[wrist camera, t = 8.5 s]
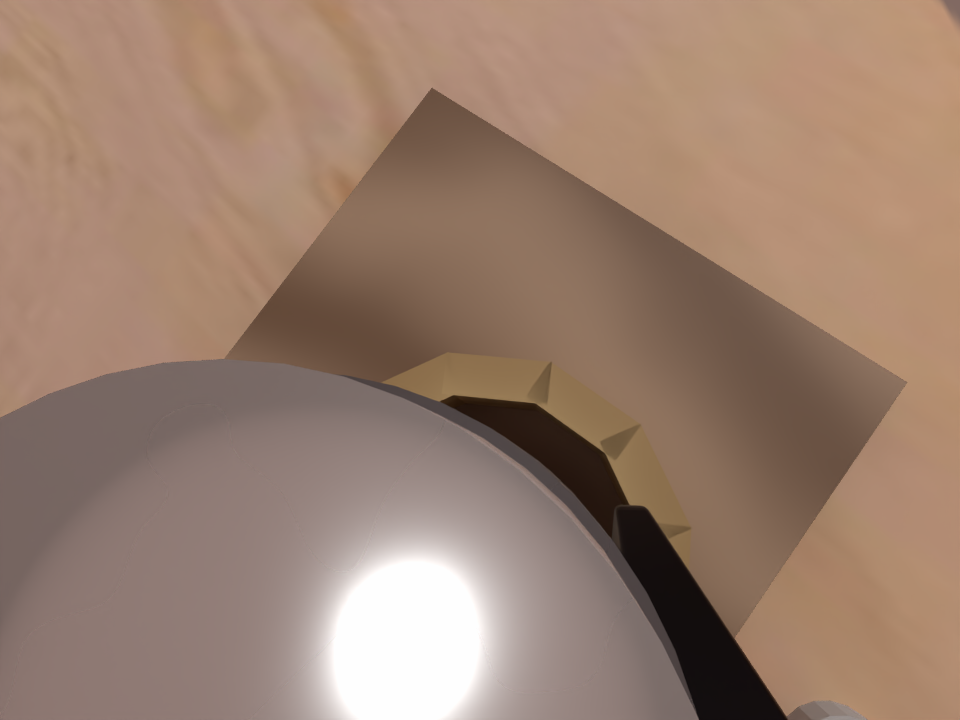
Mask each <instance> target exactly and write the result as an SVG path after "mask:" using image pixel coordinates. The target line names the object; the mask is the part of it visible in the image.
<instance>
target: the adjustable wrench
mask: <svg viewBox="0 0 960 720" xmlns="http://www.w3.org/2000/svg"><path fill="white" fill-rule="evenodd" d="M787 718H788V720H867V719H866V718H865V717H863V716H862V715H861V714H859V713H857V712H856V711H854V710H853V709H851V708H850V707H848V706H846V705H843V704H839V703H836V702H833V701H813V702H810V703H807V704H805V705H802V706H799V707H798V708H796V709H795V710H794V711H793V712H792V713H791V714H789V715H788V716H787Z"/></svg>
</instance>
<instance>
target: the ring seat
mask: <svg viewBox="0 0 960 720" xmlns="http://www.w3.org/2000/svg"><path fill="white" fill-rule="evenodd" d="M225 359H229V360H242V361H256V362H269V363H283V364H288V365H293V366H297V367H302V368H307V369H311V370H316V371H320V372H325V373H330V374H336V375H347V376H352V377H356V378H361V379H366V380H370V381H375V382H380V383H384V384H389V385H394V386H397V387H400V388H402V389H405V390H408V391H411V392H413V393H416V394H419V395H422V396H425V397H427V398H430V399H433V400H436V401H438V402H441V403H444V404H446V405H447V406H449V407H451V408H453V409H455V410H457V411H459V412H461V413H463V414H465V415H467V416H469V417H470V418H472V419H474V420H476V421H478V422H480V423H482V424H484V425H486V426H488V427H490V428H491V429H493V430H494V431H496V432H497V433H499V434H501V435H502V436H504V437H505V438H507V439H508V440H510V441H511V442H512V443H514V444H515V445H517V446H518V447H520V448H521V449H522V450H524V451H525V452H527V453H528V454H530V455H531V456H532V457H534V458H535V459H537V460H538V461H539V462H540V463H542V464H543V465H544V466H545V467H546V468H548V469H549V470H550V471H551V472H552V473H553V474H554V475H555V476H557V477H558V478H559V479H560V481H561V482H562V483H563V484H564V485H566V486H567V487H568V488H569V489H570V490H571V491H572V492H573V493H574V494H575V496H576V497H577V498H578V499H579V500H580V502H581V503H582V504H583V505H584V506H585V507H586V509H587V510H588V511H589V512H590V513H591V515H592V516H593V517H594V518H595V519H596V521H597V522H598V523H599V524H600V525H601V526H602V528H603V529H604V530H605V532H606V533H607V534H608V535H609V537H610V538H611V539H612V529H613V518H614V510H615V507H616V506H618V505H641V506H644V507H646V508H647V509H648V510H649V511H650V513H651V514H652V516H653V517H654V519H655V520H656V522H657V523H658V525H659V526H660V528H661V529H662V531H663V532H664V534H665V535H666V537H667V538H668V540H669V541H670V543H671V544H672V546H673V547H674V549H675V550H676V552H677V553H678V555H679V556H680V558H681V559H682V561H683V562H684V564H685V565H686V567H687V568H688V570H689V571H690V573H691V574H692V576H693V577H694V579H695V580H696V582H697V583H698V585H699V586H700V588H701V589H702V591H703V592H704V594H705V595H706V597H707V598H708V600H709V601H710V603H711V604H712V606H713V607H714V609H715V610H716V612H717V613H718V615H719V616H720V618H721V619H722V621H723V622H724V624H725V625H726V627H727V628H728V630H729V631H730V633H731V634H732V636H733V637H734V638H735V636H736V635H737V633H738V632H739V630H740V629H741V627H742V626H743V625H744V623H745V622H746V620H747V619H748V617H749V616H750V614H751V613H752V611H753V610H754V608H755V607H756V605H757V604H758V602H759V601H760V599H761V598H762V596H763V595H764V593H765V592H766V591H767V589H768V588H769V586H770V585H771V583H772V582H773V580H774V579H775V577H776V576H777V574H778V573H779V571H780V570H781V568H782V567H783V565H784V564H785V562H786V561H787V559H788V558H789V557H790V555H791V554H792V552H793V551H794V549H795V548H796V546H797V545H798V543H799V542H800V540H801V539H802V537H803V536H804V534H805V533H806V531H807V530H808V528H809V527H810V525H811V524H812V523H813V521H814V520H815V518H816V517H817V515H818V514H819V512H820V511H821V509H822V508H823V506H824V505H825V503H826V502H827V500H828V499H829V497H830V496H831V494H832V493H833V491H834V490H835V489H836V487H837V486H838V484H839V483H840V481H841V480H842V478H843V477H844V475H845V474H846V472H847V471H848V469H849V468H850V466H851V465H852V463H853V462H854V460H855V459H856V457H857V456H858V455H859V453H860V452H861V450H862V449H863V447H864V446H865V444H866V443H867V441H868V440H869V438H870V437H871V435H872V434H873V432H874V431H875V429H876V428H877V426H878V425H879V423H880V422H881V421H882V419H883V418H884V416H885V415H886V413H887V412H888V410H889V409H890V407H891V406H892V404H893V403H894V401H895V400H896V398H897V397H898V395H899V394H900V392H901V391H902V389H903V388H904V387H905V385H906V384H907V382H906V381H904V380H903V379H901V378H899V377H898V376H896V375H895V374H893V373H891V372H890V371H888V370H887V369H885V368H883V367H882V366H880V365H878V364H877V363H875V362H874V361H872V360H870V359H869V358H867V357H866V356H864V355H862V354H861V353H859V352H858V351H856V350H854V349H853V348H851V347H849V346H848V345H846V344H845V343H843V342H841V341H840V340H838V339H837V338H835V337H833V336H832V335H830V334H828V333H827V332H825V331H824V330H822V329H820V328H819V327H817V326H816V325H814V324H812V323H811V322H809V321H807V320H806V319H804V318H803V317H801V316H799V315H798V314H796V313H795V312H793V311H791V310H790V309H788V308H786V307H785V306H783V305H782V304H780V303H778V302H777V301H775V300H774V299H772V298H770V297H769V296H767V295H765V294H764V293H762V292H761V291H759V290H757V289H756V288H754V287H753V286H751V285H749V284H748V283H746V282H744V281H743V280H741V279H740V278H738V277H736V276H735V275H733V274H732V273H730V272H728V271H727V270H725V269H723V268H722V267H720V266H719V265H717V264H715V263H714V262H712V261H711V260H709V259H707V258H706V257H704V256H702V255H701V254H699V253H698V252H696V251H694V250H693V249H691V248H690V247H688V246H686V245H685V244H683V243H681V242H680V241H678V240H677V239H675V238H673V237H672V236H670V235H669V234H667V233H665V232H664V231H662V230H660V229H659V228H657V227H656V226H654V225H652V224H651V223H649V222H648V221H646V220H644V219H643V218H641V217H640V216H638V215H636V214H635V213H633V212H631V211H630V210H628V209H627V208H625V207H623V206H622V205H620V204H619V203H617V202H615V201H614V200H612V199H610V198H609V197H607V196H606V195H604V194H602V193H601V192H599V191H598V190H596V189H594V188H593V187H591V186H589V185H588V184H586V183H585V182H583V181H581V180H580V179H578V178H577V177H575V176H573V175H572V174H570V173H568V172H567V171H565V170H564V169H562V168H560V167H559V166H557V165H556V164H554V163H552V162H551V161H549V160H547V159H546V158H544V157H543V156H541V155H539V154H538V153H536V152H535V151H533V150H531V149H530V148H528V147H526V146H525V145H523V144H522V143H520V142H518V141H517V140H515V139H514V138H512V137H510V136H509V135H507V134H505V133H504V132H502V131H501V130H499V129H497V128H496V127H494V126H493V125H491V124H489V123H488V122H486V121H484V120H483V119H481V118H480V117H478V116H476V115H475V114H473V113H472V112H470V111H468V110H467V109H465V108H463V107H462V106H460V105H459V104H457V103H455V102H454V101H452V100H451V99H449V98H447V97H446V96H444V95H442V94H441V93H439V92H438V91H436V90H434V89H433V88H431V90H430V91H429V92H428V94H427V95H426V96H425V97H424V99H423V100H422V101H421V103H420V104H419V105H418V107H417V108H416V109H415V110H414V112H413V113H412V114H411V116H410V117H409V118H408V120H407V121H406V122H405V124H404V125H403V126H402V127H401V129H400V130H399V131H398V133H397V134H396V135H395V137H394V138H393V139H392V141H391V142H390V143H389V144H388V146H387V147H386V148H385V150H384V151H383V152H382V154H381V155H380V156H379V157H378V159H377V160H376V161H375V163H374V164H373V165H372V167H371V168H370V169H369V171H368V172H367V173H366V174H365V176H364V177H363V178H362V180H361V181H360V182H359V184H358V185H357V186H356V188H355V189H354V190H353V191H352V193H351V194H350V195H349V197H348V198H347V199H346V201H345V202H344V203H343V205H342V206H341V207H340V208H339V210H338V211H337V212H336V214H335V215H334V216H333V218H332V219H331V220H330V221H329V223H328V224H327V225H326V227H325V228H324V229H323V231H322V232H321V233H320V235H319V236H318V237H317V238H316V240H315V241H314V242H313V244H312V245H311V246H310V248H309V249H308V250H307V252H306V253H305V254H304V255H303V257H302V258H301V259H300V261H299V262H298V263H297V265H296V266H295V267H294V268H293V270H292V271H291V272H290V274H289V275H288V276H287V278H286V279H285V280H284V282H283V283H282V284H281V285H280V287H279V288H278V289H277V291H276V292H275V293H274V295H273V296H272V297H271V299H270V300H269V301H268V302H267V304H266V305H265V306H264V308H263V309H262V310H261V312H260V313H259V314H258V315H257V317H256V318H255V319H254V321H253V322H252V323H251V325H250V326H249V327H248V329H247V330H246V331H245V332H244V334H243V335H242V336H241V338H240V339H239V340H238V342H237V343H236V344H235V346H234V347H233V348H232V349H231V351H230V352H229V353H228V355H227V356H226V357H225Z"/></svg>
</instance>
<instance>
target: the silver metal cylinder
mask: <svg viewBox="0 0 960 720" xmlns="http://www.w3.org/2000/svg"><path fill="white" fill-rule="evenodd" d="M0 720H699V719H698V716H697V712H696V709H695V706H694V703H693V700H692V698H691V695H690V692H689V689H688V686H687V683H686V680H685V677H684V675H683V672H682V669H681V666H680V663H679V660H678V657H677V654H676V651H675V649H674V647H673V645H672V643H671V641H670V639H669V637H668V635H667V633H666V631H665V629H664V627H663V625H662V623H661V620H660V618H659V616H658V614H657V612H656V610H655V608H654V606H653V604H652V602H651V600H650V598H649V596H648V594H647V592H646V591H645V589H644V588H643V586H642V585H641V583H640V581H639V580H638V578H637V577H636V575H635V574H634V572H633V571H632V569H631V568H630V566H629V565H628V563H627V561H626V560H625V558H624V557H623V555H622V554H621V552H620V551H619V549H618V548H617V546H616V545H615V543H614V542H613V540H612V539H611V538H610V537H609V535H608V534H607V533H606V532H605V530H604V529H603V528H602V526H601V525H600V524H599V523H598V522H597V521H596V519H595V518H594V517H593V516H592V515H591V513H590V512H589V511H588V510H587V509H586V507H585V506H584V505H583V504H582V503H581V502H580V500H579V499H578V498H577V497H576V496H575V494H574V493H573V492H572V491H571V490H570V489H569V488H568V487H567V486H566V485H564V484H563V483H562V482H561V481H560V479H559V478H558V477H557V476H555V475H554V474H553V473H552V472H551V471H550V470H549V469H548V468H546V467H545V466H544V465H543V464H542V463H540V462H539V461H538V460H537V459H535V458H534V457H532V456H531V455H530V454H528V453H527V452H525V451H524V450H522V449H521V448H520V447H518V446H517V445H515V444H514V443H512V442H511V441H510V440H508V439H507V438H505V437H504V436H502V435H501V434H499V433H497V432H496V431H494V430H493V429H491V428H490V427H488V426H486V425H484V424H482V423H480V422H478V421H476V420H474V419H472V418H470V417H469V416H467V415H465V414H463V413H461V412H459V411H457V410H455V409H453V408H451V407H449V406H447V405H446V404H444V403H441V402H438V401H436V400H433V399H430V398H427V397H425V396H422V395H419V394H416V393H413V392H411V391H408V390H405V389H402V388H400V387H397V386H394V385H389V384H384V383H380V382H375V381H370V380H366V379H361V378H356V377H352V376H347V375H336V374H330V373H325V372H320V371H316V370H311V369H307V368H302V367H297V366H293V365H288V364H283V363H269V362H256V361H242V360H229V359H217V360H202V361H186V362H170V363H161V364H156V365H151V366H146V367H141V368H136V369H131V370H126V371H121V372H116V373H111V374H106V375H103V376H100V377H97V378H94V379H91V380H88V381H85V382H82V383H79V384H77V385H74V386H71V387H68V388H65V389H62V390H59V391H56V392H53V393H50V394H48V395H46V396H44V397H42V398H40V399H38V400H36V401H34V402H31V403H29V404H27V405H25V406H23V407H21V408H19V409H17V410H15V411H13V412H11V413H9V414H7V415H5V416H3V417H1V418H0Z"/></svg>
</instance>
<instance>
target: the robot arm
mask: <svg viewBox="0 0 960 720" xmlns="http://www.w3.org/2000/svg"><path fill="white" fill-rule="evenodd" d="M612 540H613V542H614V543H615V545H616V546H617V548H618V549H619V551H620V552H621V554H622V555H623V557H624V558H625V560H626V561H627V563H628V565H629V566H630V568H631V569H632V571H633V572H634V574H635V575H636V577H637V578H638V580H639V581H640V583H641V585H642V586H643V588H644V589H645V591H646V592H647V594H648V596H649V598H650V600H651V602H652V604H653V606H654V608H655V610H656V612H657V614H658V616H659V618H660V620H661V623H662V625H663V627H664V629H665V631H666V633H667V635H668V637H669V639H670V641H671V643H672V645H673V647H674V649H675V651H676V654H677V657H678V660H679V663H680V666H681V669H682V672H683V675H684V677H685V680H686V683H687V686H688V689H689V692H690V695H691V698H692V700H693V703H694V706H695V709H696V712H697V716H698V719H699V720H788V718H787V717H786V715H785V714H784V712H783V711H782V709H781V708H780V706H779V705H778V703H777V702H776V700H775V699H774V697H773V696H772V694H771V693H770V691H769V690H768V688H767V687H766V685H765V684H764V682H763V681H762V679H761V678H760V676H759V675H758V673H757V672H756V670H755V669H754V667H753V666H752V664H751V663H750V661H749V660H748V658H747V657H746V655H745V654H744V652H743V651H742V649H741V648H740V646H739V645H738V643H737V642H736V640H735V639H734V637H733V636H732V634H731V633H730V631H729V630H728V628H727V627H726V625H725V624H724V622H723V621H722V619H721V618H720V616H719V615H718V613H717V612H716V610H715V609H714V607H713V606H712V604H711V603H710V601H709V600H708V598H707V597H706V595H705V594H704V592H703V591H702V589H701V588H700V586H699V585H698V583H697V582H696V580H695V579H694V577H693V576H692V574H691V573H690V571H689V570H688V568H687V567H686V565H685V564H684V562H683V561H682V559H681V558H680V556H679V555H678V553H677V552H676V550H675V549H674V547H673V546H672V544H671V543H670V541H669V540H668V538H667V537H666V535H665V534H664V532H663V531H662V529H661V528H660V526H659V525H658V523H657V522H656V520H655V519H654V517H653V516H652V514H651V513H650V511H649V510H648V509H647V508H646V507H644V506H641V505H618V506H616V507H615V510H614V518H613V529H612Z"/></svg>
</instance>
